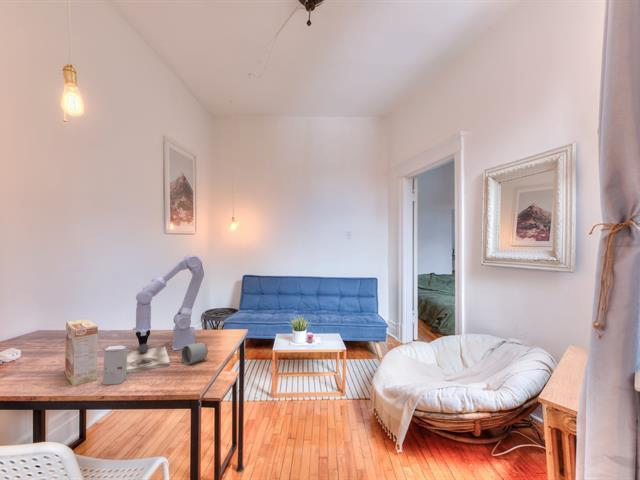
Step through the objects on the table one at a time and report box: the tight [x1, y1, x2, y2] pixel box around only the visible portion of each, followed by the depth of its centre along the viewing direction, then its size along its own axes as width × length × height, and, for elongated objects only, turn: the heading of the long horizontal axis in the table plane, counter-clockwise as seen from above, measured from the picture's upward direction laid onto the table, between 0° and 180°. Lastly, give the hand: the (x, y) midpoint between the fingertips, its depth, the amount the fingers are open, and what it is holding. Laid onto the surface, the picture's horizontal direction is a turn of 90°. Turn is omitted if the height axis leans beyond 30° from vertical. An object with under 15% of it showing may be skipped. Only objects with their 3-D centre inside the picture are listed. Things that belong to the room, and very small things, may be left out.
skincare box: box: [102, 345, 129, 386], centre depth 107 cm, size 6×4×12 cm
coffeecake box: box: [64, 318, 99, 387], centre depth 110 cm, size 15×7×20 cm, turn 48°
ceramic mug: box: [180, 342, 209, 366], centre depth 127 cm, size 11×8×8 cm
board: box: [126, 346, 171, 375], centre depth 126 cm, size 18×22×2 cm
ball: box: [137, 344, 149, 353], centre depth 131 cm, size 4×4×4 cm
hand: (142, 348), depth 135 cm, fingers closed
